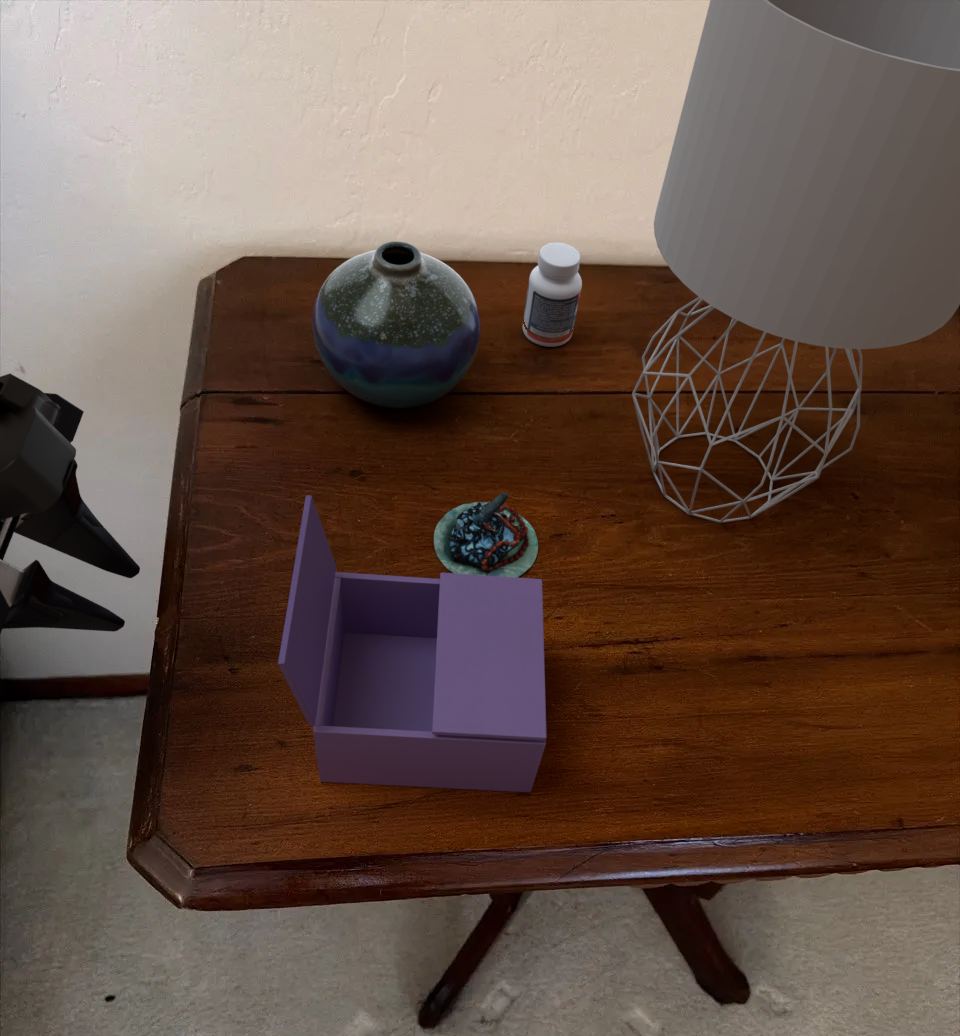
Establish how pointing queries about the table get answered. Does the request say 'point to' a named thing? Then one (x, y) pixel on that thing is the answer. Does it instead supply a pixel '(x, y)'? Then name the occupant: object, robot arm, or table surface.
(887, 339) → the table lamp
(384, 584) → the file box
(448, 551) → the dish
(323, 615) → the flap
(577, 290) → the pill bottle
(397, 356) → the vase
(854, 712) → the table surface
